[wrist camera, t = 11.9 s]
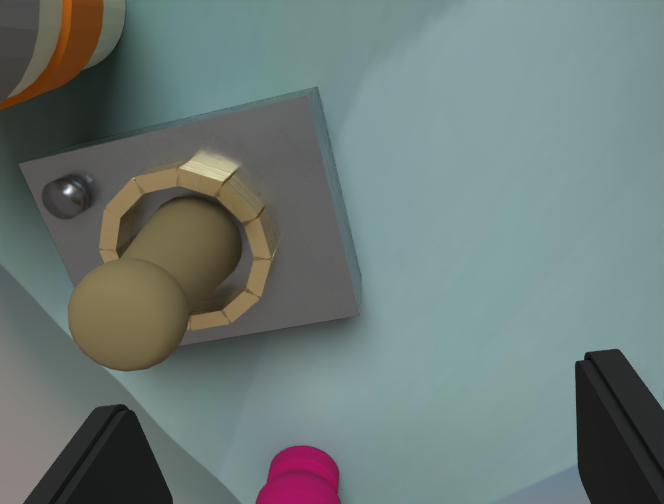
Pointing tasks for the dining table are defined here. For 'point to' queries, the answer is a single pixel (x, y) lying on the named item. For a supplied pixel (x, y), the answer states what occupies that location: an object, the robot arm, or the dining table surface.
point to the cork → (154, 285)
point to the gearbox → (231, 195)
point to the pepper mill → (301, 478)
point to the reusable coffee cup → (53, 43)
